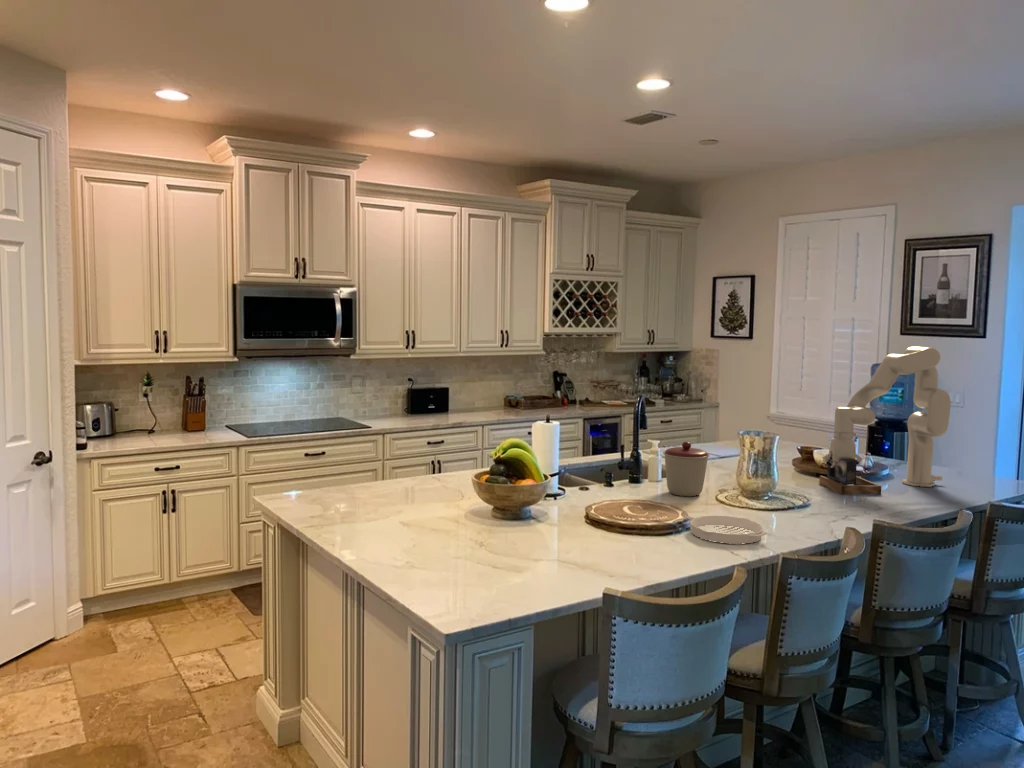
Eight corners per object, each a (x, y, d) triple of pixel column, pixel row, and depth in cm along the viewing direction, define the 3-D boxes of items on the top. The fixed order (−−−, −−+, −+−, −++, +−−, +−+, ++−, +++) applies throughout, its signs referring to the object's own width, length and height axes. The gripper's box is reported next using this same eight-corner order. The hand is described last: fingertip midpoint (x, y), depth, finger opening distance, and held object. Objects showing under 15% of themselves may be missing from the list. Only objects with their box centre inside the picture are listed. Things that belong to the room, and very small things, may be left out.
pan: (741, 552, 234) (741, 540, 234) (634, 523, 264) (635, 513, 264) (782, 537, 251) (782, 526, 250) (677, 512, 281) (678, 502, 281)
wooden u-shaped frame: (856, 483, 335) (856, 475, 335) (880, 494, 315) (881, 486, 315) (819, 483, 334) (819, 475, 334) (841, 494, 314) (842, 485, 314)
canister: (684, 501, 298) (686, 447, 296) (652, 491, 313) (654, 440, 311) (717, 496, 307) (719, 443, 306) (684, 487, 323) (686, 437, 321)
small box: (825, 480, 336) (826, 456, 335) (836, 479, 338) (838, 455, 337) (845, 485, 326) (846, 460, 325) (856, 484, 329) (857, 459, 328)
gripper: (858, 434, 335) (856, 474, 336) (819, 434, 333) (817, 474, 335) (867, 437, 327) (865, 478, 329) (827, 437, 326) (825, 478, 328)
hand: (841, 476), depth 332 cm, fingers closed on small box, 7 cm apart
